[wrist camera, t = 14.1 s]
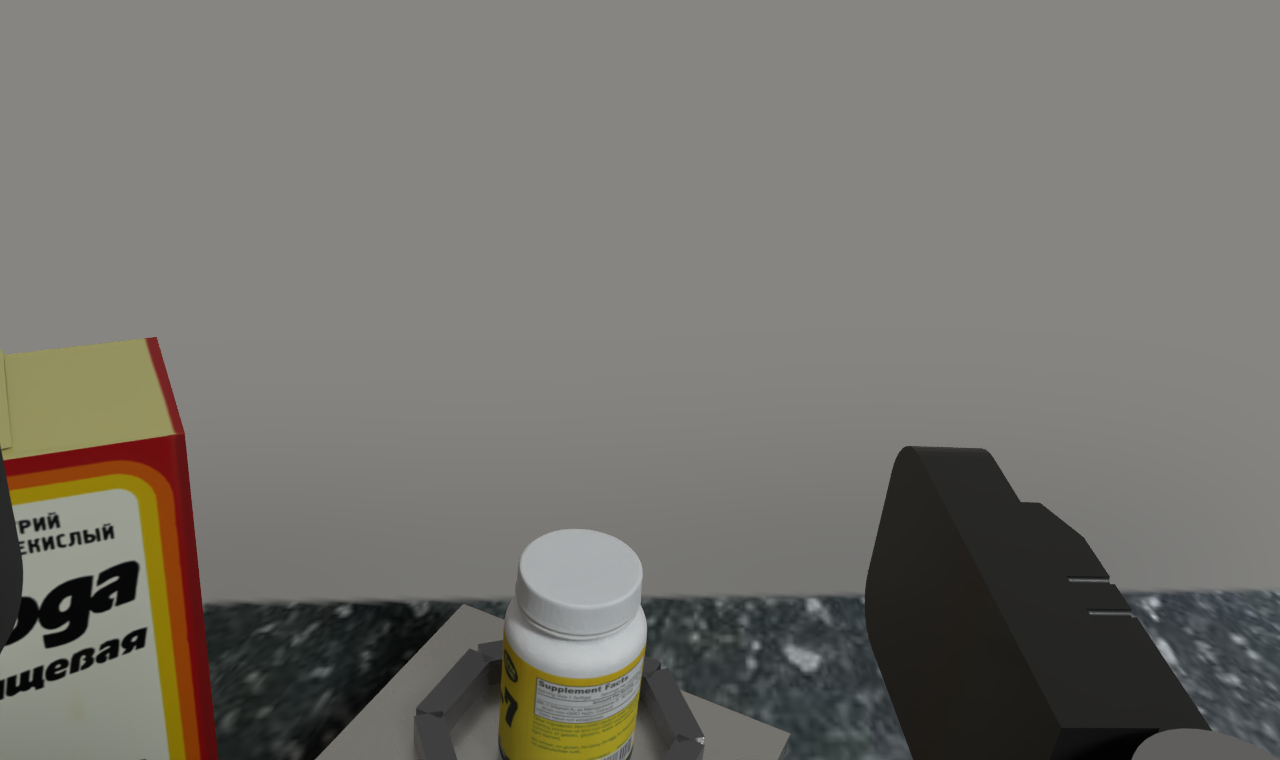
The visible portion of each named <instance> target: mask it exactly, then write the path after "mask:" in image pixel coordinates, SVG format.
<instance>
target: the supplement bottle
mask: <svg viewBox="0 0 1280 760" xmlns="http://www.w3.org/2000/svg"><path fill="white" fill-rule="evenodd" d="M642 578H643V571H642V565H641V562H640V560H639V558H638V557H637V555H636V554H635V552H634V551H633V550H632V549H631V548H630V547H629V546H627V545H626V544H625V543H623V542H622V541H620V540H619V539H617V538H615V537H613V536H610V535H607V534H605V533H601V532H597V531H593V530H585V529H565V530H558V531H554V532H550V533H547V534H545V535H543V536H541V537H539V538H537V539H535V540H534V541H533V542H531V543H530V544H529V545H528V546H527V547H526V548H525V550H524V551H523V553H522V555H521V557H520V561H519V566H518V576H517V582H516V589H515V593H516V594H515V596H514V597H513V599H512V600H511V602H510V604H509V606H508V609H507V611H506V616H505V622H504V630H503V657H502V676H501V692H500V715H499V732H498V749H499V756H500V760H631V756H632V750H633V741H634V732H635V724H636V716H637V708H638V700H639V693H640V685H641V677H642V670H643V663H644V655H645V648H646V637H647V624H646V618H645V614H644V612H643V609H642V607H641V605H640V602H641V588H642Z"/></svg>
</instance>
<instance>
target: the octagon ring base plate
mask: <svg viewBox="0 0 1280 760" xmlns="http://www.w3.org/2000/svg"><path fill="white" fill-rule="evenodd" d="M504 622H505V620H503V619H500V618H498V617H495V616H493V615H490V614H488V613H485V612H483V611H480V610H478V609H475V608H473V607H470V606H468V605H465V604H463V605H462V606H461V607H460V608H459V609H458V610H457V611H456V612H455V613H454V614H453V615H452V616H451V618H450V619H449V620H448V621H447V622H446V623H445V624H444V625H443V626H442V627H441V628H440V629H439V630H438V631H437V632H436V633H435V634H434V635H433V636H432V637H431V639H430V640H429V641H428V642H427V643H426V644H425V645H424V646H423V647H422V648H421V649H420V650H419V651H418V652H417V653H416V654H415V655H414V656H413V657H412V658H411V660H410V661H409V662H408V663H407V664H406V665H405V666H404V667H403V668H402V669H401V670H400V671H399V672H398V673H397V674H396V675H395V676H394V677H393V678H392V679H391V680H390V682H389V683H388V684H387V685H386V686H385V687H384V688H383V689H382V690H381V691H380V692H379V693H378V694H377V695H376V696H375V697H374V698H373V699H372V700H371V701H370V703H369V704H368V705H367V706H366V707H365V708H364V709H363V710H362V711H361V712H360V713H359V714H358V715H357V716H356V717H355V718H354V719H353V720H352V721H351V722H350V724H349V725H348V726H347V727H346V728H345V729H344V730H343V731H342V732H341V733H340V734H339V735H338V736H337V737H336V738H335V739H334V740H333V741H332V742H331V743H330V745H329V746H328V747H327V748H326V749H325V750H324V751H323V752H322V753H321V754H320V755H319V756H318V757H317V758H316V759H315V760H500V756H499V749H498V732H499V715H500V692H501V676H502V657H503V630H504ZM660 667H661V662H659V661H656V660H654V659H651V658H649V657H646V656H644V663H643V670H642V677H641V685H640V693H639V700H638V708H637V716H636V724H635V732H634V741H633V750H632V756H631V760H785V756H786V752H787V747H788V742H789V738H790V733H787V732H785V731H782V730H780V729H777V728H775V727H772V726H770V725H767V724H765V723H762V722H759V721H757V720H754V719H752V718H749V717H747V716H744V715H742V714H739V713H737V712H734V711H732V710H729V709H727V708H724V707H722V706H719V705H717V704H714V703H712V702H709V701H707V700H704V699H702V698H699V697H697V696H694V695H692V694H689V693H687V692H684V691H681V690H680V689H679V687H678V685H677V684H676V682H675V680H674V678H673V676H672V674H671V672H670V671H669V669H668V668H666V669H661V670H660Z"/></svg>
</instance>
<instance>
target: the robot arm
mask: <svg viewBox="0 0 1280 760" xmlns="http://www.w3.org/2000/svg"><path fill="white" fill-rule="evenodd" d="M1109 577H1110V576H1109V575H1108V573H1107V572H1106V570H1105V569H1104V568H1103V566H1102V564H1101V563H1100V561H1099V560H1098V558H1097V557H1096V555H1095V554H1094V552H1093V551H1092V549H1091V548H1090V546H1089V545H1088V543H1087V542H1086V541H1085V539H1084V537H1082V536H1081V535H1080V534H1079V533H1077V532H1076V531H1075V530H1074V529H1072V528H1071V527H1070V526H1069V525H1067V524H1066V523H1065V522H1063V521H1062V520H1061V519H1060V518H1058V517H1057V516H1056V515H1054V514H1053V513H1052V512H1051V511H1050V510H1048V509H1047V508H1046V507H1044V506H1043V505H1042V504H1041V503H1029V502H1020V500H1019V499H1018V497H1017V495H1016V494H1015V492H1014V491H1013V489H1012V487H1011V486H1010V484H1009V482H1008V481H1007V479H1006V478H1005V476H1004V474H1003V473H1002V471H1001V469H1000V468H999V466H998V465H997V463H996V461H995V460H994V458H993V457H992V455H991V454H990V453H989V452H988V451H987V450H985V449H982V448H952V447H920V446H906V447H904V448H903V449H902V450H901V451H900V452H899V454H898V456H897V458H896V460H895V463H894V466H893V469H892V473H891V478H890V482H889V486H888V490H887V495H886V499H885V503H884V507H883V511H882V516H881V520H880V524H879V528H878V533H877V537H876V541H875V545H874V550H873V554H872V558H871V562H870V567H869V570H868V575H867V580H866V589H865V617H866V626H867V632H868V637H869V641H870V644H871V647H872V650H873V652H874V655H875V658H876V660H877V663H878V666H879V669H880V671H881V674H882V677H883V679H884V682H885V685H886V687H887V690H888V693H889V695H890V698H891V701H892V704H893V706H894V709H895V712H896V714H897V717H898V720H899V722H900V725H901V728H902V731H903V733H904V736H905V739H906V741H907V744H908V747H909V749H910V752H911V755H912V757H913V760H1280V759H1278V758H1276V757H1275V756H1273V755H1271V754H1270V753H1268V752H1266V751H1265V750H1263V749H1261V748H1258V747H1256V746H1254V745H1252V744H1250V743H1248V742H1245V741H1243V740H1240V739H1238V738H1235V737H1232V736H1229V735H1225V734H1221V733H1218V732H1214V731H1212V730H1211V728H1210V727H1209V725H1208V724H1207V722H1206V721H1205V719H1204V718H1203V716H1202V715H1201V713H1200V712H1199V710H1198V709H1197V707H1196V706H1195V704H1194V703H1193V701H1192V700H1191V698H1190V697H1189V695H1188V694H1187V692H1186V691H1185V689H1184V688H1183V686H1182V685H1181V683H1180V682H1179V680H1178V679H1177V677H1176V676H1175V674H1174V673H1173V671H1172V670H1171V668H1170V667H1169V665H1168V664H1167V662H1166V661H1165V659H1164V658H1163V656H1162V655H1161V653H1160V652H1159V650H1158V649H1157V647H1156V646H1155V644H1154V643H1153V641H1152V640H1151V638H1150V637H1149V635H1148V634H1147V632H1146V631H1145V629H1144V628H1143V626H1142V625H1141V623H1140V622H1139V620H1138V619H1137V618H1132V617H1131V608H1130V607H1129V605H1128V604H1127V602H1126V600H1125V599H1124V597H1123V596H1122V594H1121V593H1120V591H1119V590H1118V588H1117V587H1116V585H1115V584H1110V583H1109ZM22 590H23V562H22V555H21V550H20V544H19V539H18V534H17V529H16V524H15V518H14V513H13V508H12V503H11V498H10V493H9V487H8V482H7V477H6V472H5V467H4V461H3V456H2V451H1V446H0V654H1V652H2V650H3V648H4V646H5V644H6V642H7V640H8V639H9V637H10V635H11V633H12V630H13V628H14V626H15V623H16V620H17V616H18V613H19V609H20V604H21V598H22Z"/></svg>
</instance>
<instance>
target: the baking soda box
mask: <svg viewBox="0 0 1280 760" xmlns="http://www.w3.org/2000/svg"><path fill="white" fill-rule="evenodd" d="M0 446H1V451H2V456H3V461H4V467H5V472H6V477H7V482H8V487H9V493H10V498H11V503H12V508H13V513H14V518H15V524H16V529H17V534H18V539H19V544H20V550H21V555H22V562H23V590H22V598H21V604H20V609H19V613H18V616H17V620H16V623H15V626H14V628H13V630H12V633H11V635H10V637H9V639H8V640H7V642H6V644H5V646H4V648H3V650H2V652H1V654H0V760H218V753H217V744H216V734H215V724H214V715H213V705H212V695H211V685H210V676H209V666H208V656H207V646H206V637H205V627H204V617H203V607H202V598H201V588H200V579H199V569H198V559H197V549H196V539H195V530H194V521H193V510H192V500H191V491H190V481H189V472H188V463H187V452H186V443H185V433H184V429H183V426H182V423H181V419H180V416H179V412H178V409H177V405H176V402H175V398H174V395H173V392H172V388H171V385H170V381H169V378H168V374H167V371H166V368H165V364H164V361H163V358H162V354H161V350H160V347H159V344H158V340H157V337H153V338H144V339H136V340H128V341H118V342H110V343H101V344H93V345H85V346H75V347H67V348H58V349H50V350H41V351H33V352H24V353H16V354H7V355H3V350H0Z"/></svg>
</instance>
